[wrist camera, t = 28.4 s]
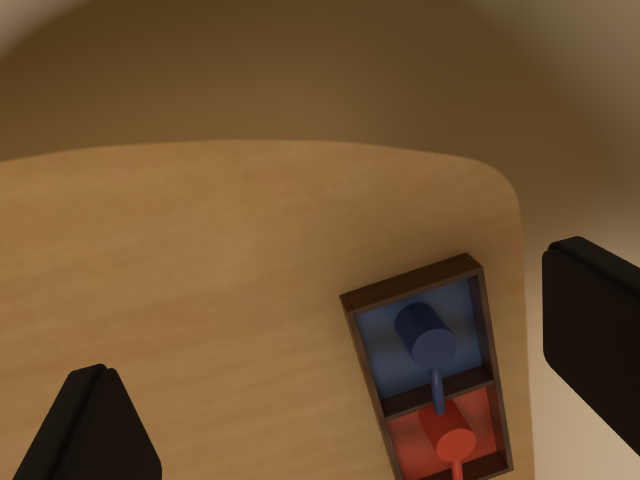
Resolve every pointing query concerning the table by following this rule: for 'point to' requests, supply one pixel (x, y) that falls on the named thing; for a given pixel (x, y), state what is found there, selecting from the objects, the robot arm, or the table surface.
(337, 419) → the table surface
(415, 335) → the blue mallet
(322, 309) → the table surface
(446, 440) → the red round-headed part
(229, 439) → the table surface
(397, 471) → the tray
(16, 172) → the table surface
